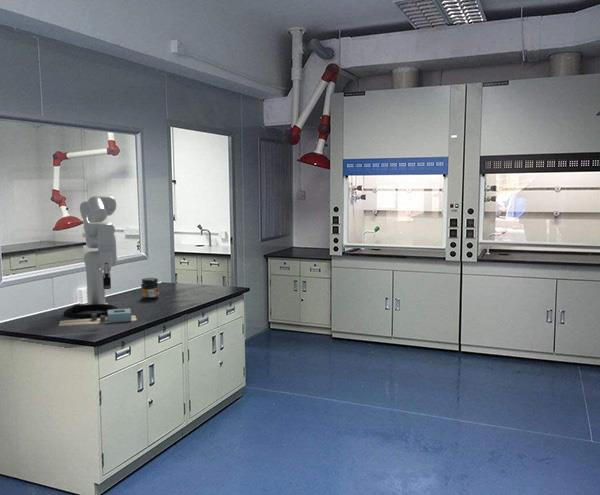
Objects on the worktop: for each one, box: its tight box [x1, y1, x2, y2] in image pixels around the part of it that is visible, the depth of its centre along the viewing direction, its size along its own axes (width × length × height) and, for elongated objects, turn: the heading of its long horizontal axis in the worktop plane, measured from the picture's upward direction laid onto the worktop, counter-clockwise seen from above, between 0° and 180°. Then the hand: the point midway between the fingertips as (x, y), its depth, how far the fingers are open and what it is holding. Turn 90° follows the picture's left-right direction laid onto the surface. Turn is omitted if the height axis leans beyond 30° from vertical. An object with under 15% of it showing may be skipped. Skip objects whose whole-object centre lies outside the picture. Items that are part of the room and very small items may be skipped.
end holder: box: [107, 308, 133, 323], centre depth 280 cm, size 11×11×4 cm
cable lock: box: [63, 303, 119, 319], centre depth 295 cm, size 28×4×30 cm
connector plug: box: [103, 272, 112, 290], centre depth 276 cm, size 4×4×8 cm
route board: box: [58, 312, 137, 327], centre depth 276 cm, size 12×36×4 cm, turn 110°
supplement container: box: [140, 277, 160, 301], centre depth 339 cm, size 10×10×12 cm
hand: (107, 284), depth 276 cm, fingers closed on connector plug, 3 cm apart
